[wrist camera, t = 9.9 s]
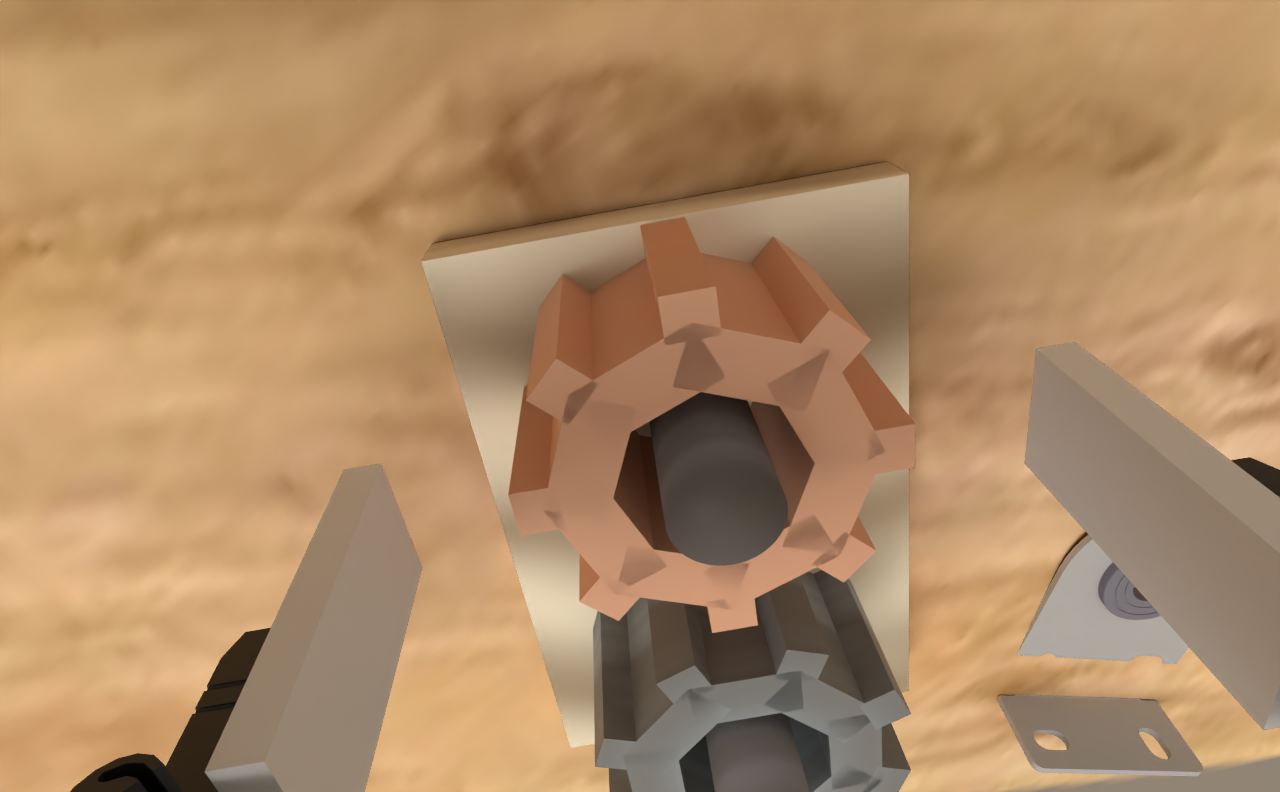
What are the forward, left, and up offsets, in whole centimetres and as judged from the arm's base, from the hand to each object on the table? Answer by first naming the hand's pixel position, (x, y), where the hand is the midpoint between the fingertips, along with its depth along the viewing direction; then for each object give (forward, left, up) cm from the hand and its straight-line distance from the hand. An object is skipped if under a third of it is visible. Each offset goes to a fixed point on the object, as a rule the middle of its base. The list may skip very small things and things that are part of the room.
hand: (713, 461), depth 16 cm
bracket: (+14, +14, -8) cm, 21 cm away
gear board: (+5, 0, -7) cm, 9 cm away
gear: (+1, 0, -5) cm, 5 cm away
